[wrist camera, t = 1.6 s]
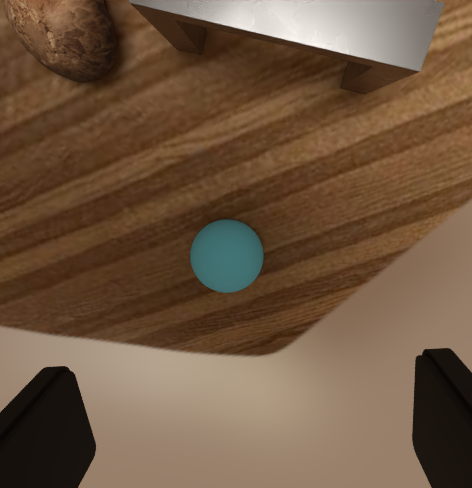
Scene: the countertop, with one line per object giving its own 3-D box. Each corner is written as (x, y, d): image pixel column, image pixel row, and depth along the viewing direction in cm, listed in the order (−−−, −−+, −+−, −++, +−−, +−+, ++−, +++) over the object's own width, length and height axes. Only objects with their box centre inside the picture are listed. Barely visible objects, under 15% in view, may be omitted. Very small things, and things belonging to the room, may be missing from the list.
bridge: (365, 94, 26) (420, 71, 17) (176, 49, 26) (129, 2, 17) (379, 51, 25) (444, 2, 16) (183, 5, 25) (137, -70, 16)
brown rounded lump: (85, -93, 21) (13, -72, 18) (161, 36, 26) (115, 73, 22) (28, -26, 26) (-38, 2, 23) (101, 73, 31) (55, 109, 27)
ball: (192, 266, 32) (176, 295, 26) (204, 205, 30) (190, 221, 24) (254, 282, 32) (252, 313, 26) (271, 221, 30) (272, 241, 24)
